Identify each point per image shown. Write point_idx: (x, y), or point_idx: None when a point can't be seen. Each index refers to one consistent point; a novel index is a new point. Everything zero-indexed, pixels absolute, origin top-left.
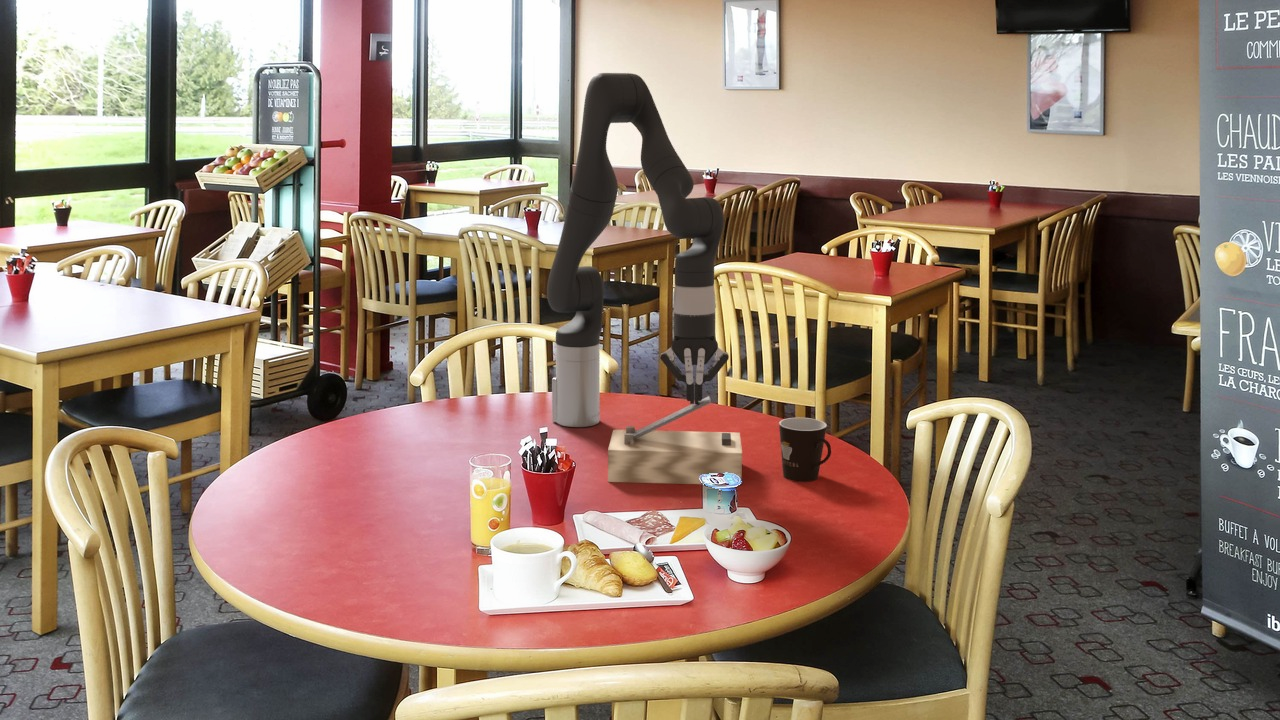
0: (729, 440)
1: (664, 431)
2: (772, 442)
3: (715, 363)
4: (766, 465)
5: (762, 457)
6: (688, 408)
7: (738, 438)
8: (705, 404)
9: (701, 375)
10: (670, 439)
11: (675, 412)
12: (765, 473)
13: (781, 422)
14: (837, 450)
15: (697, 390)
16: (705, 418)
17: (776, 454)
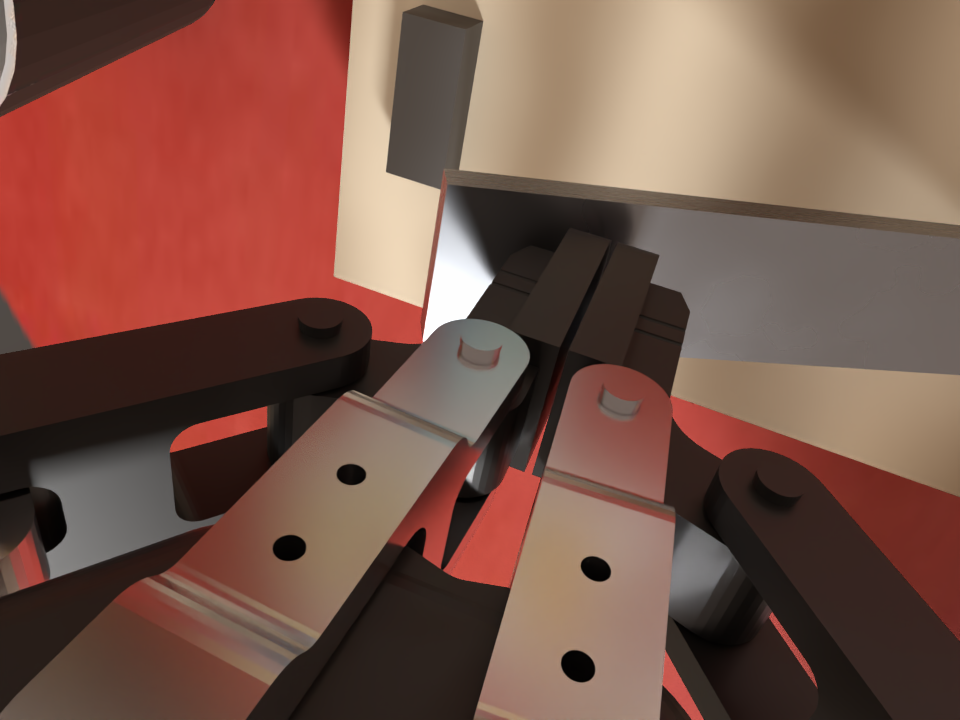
0: (417, 15)
1: (791, 424)
2: (247, 420)
3: (93, 494)
4: (291, 142)
5: (299, 259)
6: (676, 265)
7: (353, 163)
8: (503, 179)
9: (413, 386)
10: None
11: (779, 350)
12: (307, 11)
13: (10, 49)
14: (26, 265)
15: (542, 298)
16: None
17: (240, 281)
